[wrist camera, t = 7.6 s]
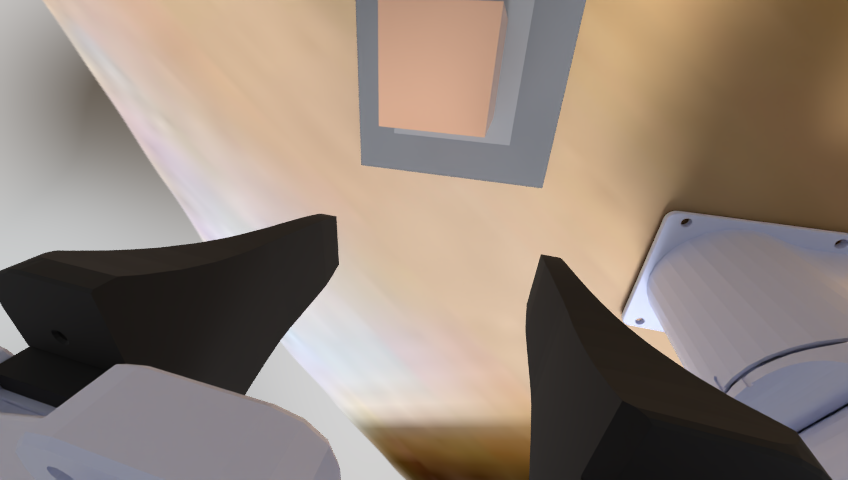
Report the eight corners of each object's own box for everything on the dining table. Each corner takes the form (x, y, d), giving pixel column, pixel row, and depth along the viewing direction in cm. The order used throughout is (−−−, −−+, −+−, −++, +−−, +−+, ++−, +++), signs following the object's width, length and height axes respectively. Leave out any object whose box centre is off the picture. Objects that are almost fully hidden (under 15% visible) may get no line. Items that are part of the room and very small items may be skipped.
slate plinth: (589, -47, 15) (602, -67, 13) (539, 174, 20) (542, 189, 17) (374, -47, 17) (352, -65, 14) (377, 154, 21) (360, 165, 19)
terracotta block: (508, 19, 14) (503, 1, 10) (493, 117, 16) (484, 137, 12) (417, 16, 15) (377, -3, 11) (413, 110, 17) (378, 126, 13)
